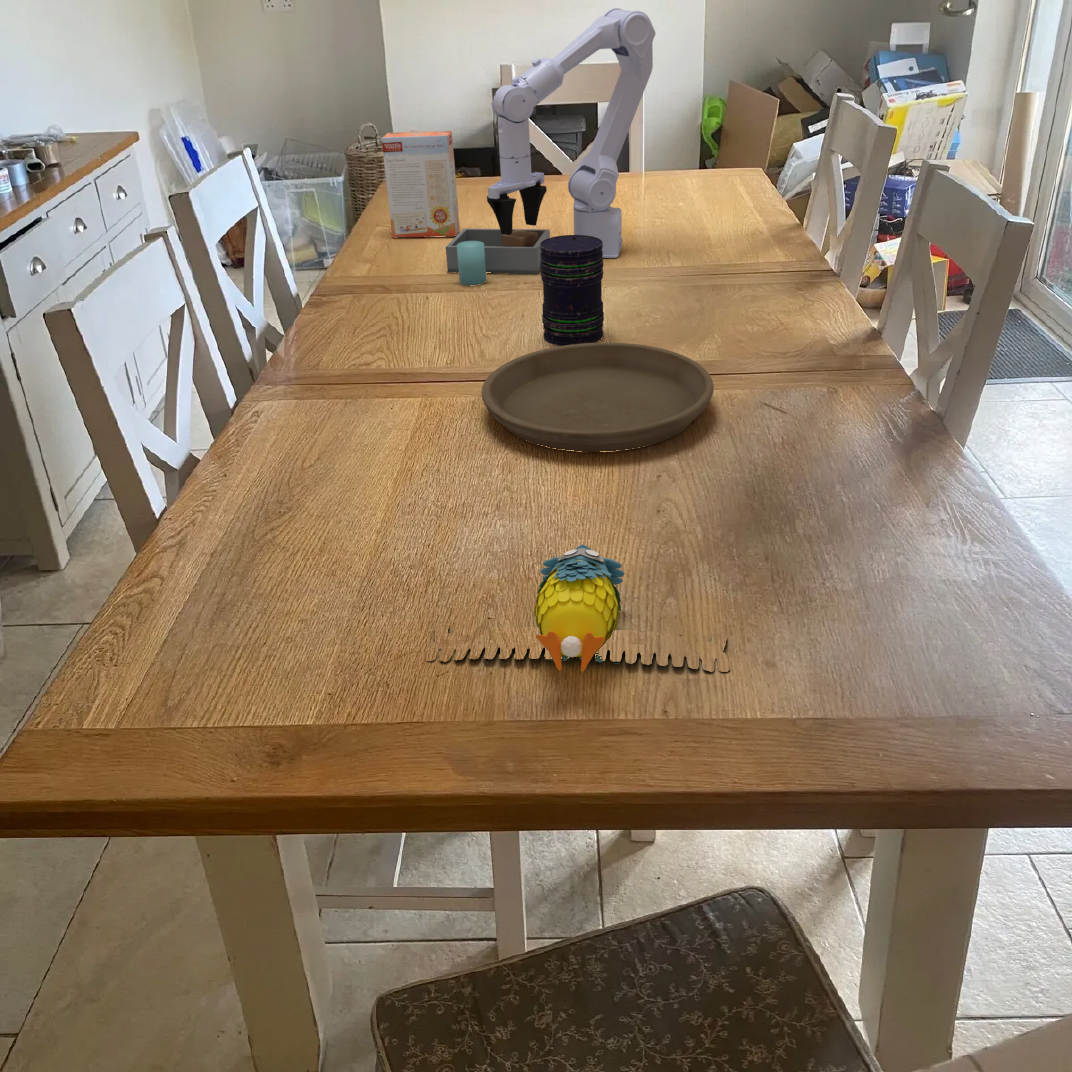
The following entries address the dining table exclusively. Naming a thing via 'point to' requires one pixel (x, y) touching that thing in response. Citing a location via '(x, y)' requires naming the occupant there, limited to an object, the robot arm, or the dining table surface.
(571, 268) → the storage jar
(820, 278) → the dining table surface
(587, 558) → the owl figurine
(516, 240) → the walnut block
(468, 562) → the dining table surface
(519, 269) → the tote
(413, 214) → the cracker box
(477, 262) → the teal cylinder
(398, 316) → the dining table surface
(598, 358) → the plant saucer
